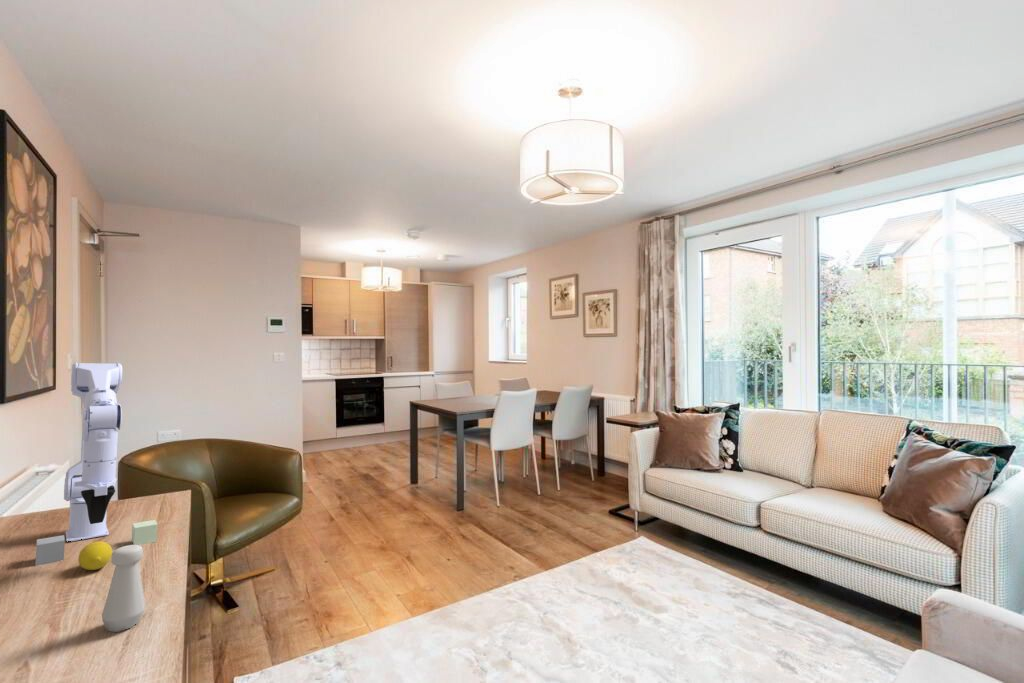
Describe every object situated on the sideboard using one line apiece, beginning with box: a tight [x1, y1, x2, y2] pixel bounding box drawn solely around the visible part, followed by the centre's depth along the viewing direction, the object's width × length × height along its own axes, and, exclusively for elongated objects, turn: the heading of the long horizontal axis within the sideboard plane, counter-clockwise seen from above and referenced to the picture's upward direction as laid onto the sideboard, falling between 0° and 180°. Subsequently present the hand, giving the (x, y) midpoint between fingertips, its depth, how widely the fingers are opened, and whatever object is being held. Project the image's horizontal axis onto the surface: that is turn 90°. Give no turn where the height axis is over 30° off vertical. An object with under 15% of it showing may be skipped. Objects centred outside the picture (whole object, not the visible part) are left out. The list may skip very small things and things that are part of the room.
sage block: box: [131, 519, 159, 546], centre depth 120 cm, size 4×4×4 cm
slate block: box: [35, 534, 66, 567], centre depth 109 cm, size 4×4×4 cm
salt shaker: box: [101, 544, 146, 633], centre depth 82 cm, size 6×6×13 cm
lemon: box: [78, 540, 113, 571], centre depth 104 cm, size 6×6×8 cm
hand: (96, 522), depth 107 cm, fingers closed
